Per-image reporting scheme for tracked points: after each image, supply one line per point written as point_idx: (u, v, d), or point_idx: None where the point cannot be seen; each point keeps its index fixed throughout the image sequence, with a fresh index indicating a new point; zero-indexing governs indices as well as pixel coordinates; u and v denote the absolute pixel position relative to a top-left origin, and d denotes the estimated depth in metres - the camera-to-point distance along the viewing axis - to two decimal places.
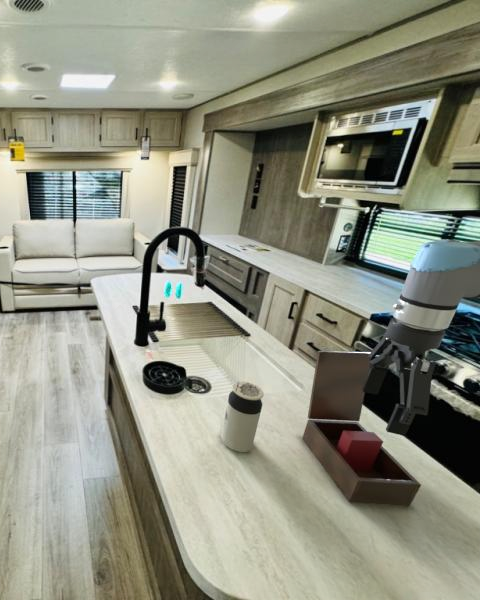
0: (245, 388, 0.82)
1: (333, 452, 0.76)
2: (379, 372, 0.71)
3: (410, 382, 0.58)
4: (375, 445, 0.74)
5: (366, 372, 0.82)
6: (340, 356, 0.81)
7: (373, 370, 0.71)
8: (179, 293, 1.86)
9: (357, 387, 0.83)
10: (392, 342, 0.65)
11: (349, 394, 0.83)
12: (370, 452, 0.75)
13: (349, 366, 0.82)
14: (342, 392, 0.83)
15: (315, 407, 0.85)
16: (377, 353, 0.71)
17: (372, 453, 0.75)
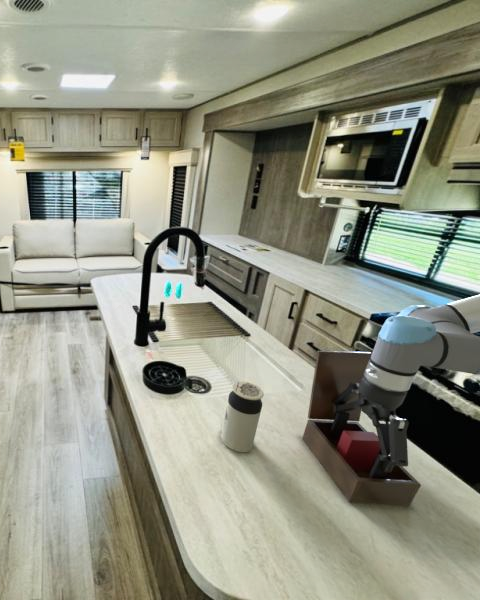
0: (245, 388, 0.82)
1: (333, 452, 0.76)
2: (344, 416, 0.81)
3: (391, 438, 0.66)
4: (375, 445, 0.74)
5: None
6: (340, 356, 0.81)
7: (340, 415, 0.81)
8: (179, 293, 1.86)
9: None
10: (360, 395, 0.75)
11: None
12: (370, 452, 0.75)
13: (349, 366, 0.82)
14: (342, 391, 0.83)
15: (315, 407, 0.85)
16: (341, 400, 0.81)
17: (372, 453, 0.75)
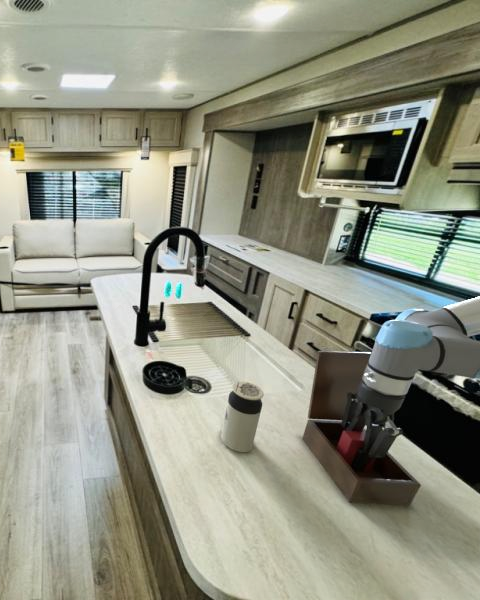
0: (245, 388, 0.82)
1: (333, 452, 0.76)
2: None
3: (378, 439, 0.70)
4: None
5: None
6: (340, 356, 0.81)
7: None
8: (179, 293, 1.86)
9: (357, 387, 0.83)
10: (359, 399, 0.75)
11: None
12: None
13: (349, 366, 0.82)
14: (342, 392, 0.83)
15: (315, 407, 0.85)
16: (349, 418, 0.79)
17: None
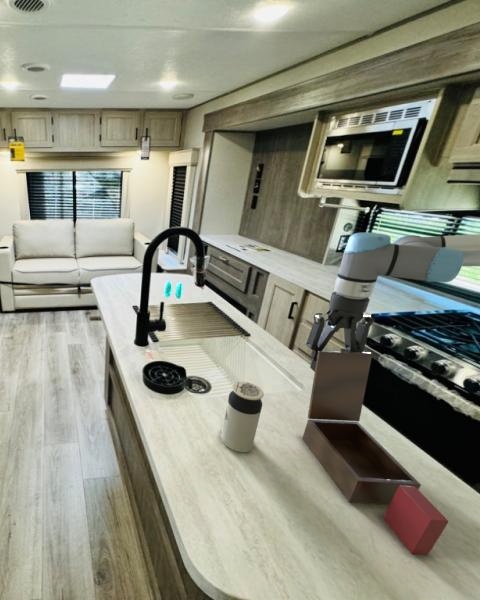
0: (245, 388, 0.82)
1: (333, 452, 0.76)
2: None
3: (364, 333, 0.82)
4: None
5: (366, 372, 0.82)
6: (340, 356, 0.81)
7: None
8: (179, 293, 1.86)
9: (357, 387, 0.83)
10: (334, 317, 0.81)
11: (349, 394, 0.83)
12: None
13: (349, 366, 0.82)
14: (342, 392, 0.83)
15: (315, 407, 0.85)
16: None
17: None
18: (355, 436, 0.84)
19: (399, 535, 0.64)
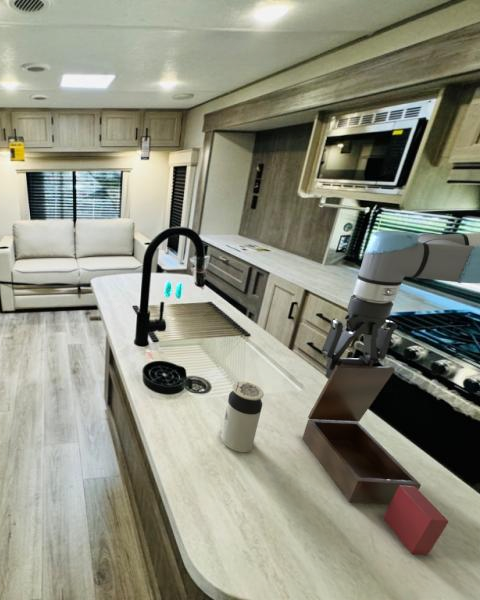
0: (245, 388, 0.82)
1: (333, 452, 0.76)
2: None
3: (386, 340, 0.75)
4: None
5: (381, 385, 0.77)
6: (358, 371, 0.75)
7: None
8: (179, 293, 1.86)
9: (367, 396, 0.79)
10: (354, 323, 0.75)
11: (356, 401, 0.81)
12: None
13: (365, 380, 0.77)
14: (350, 400, 0.80)
15: (318, 411, 0.84)
16: None
17: None
18: (355, 436, 0.84)
19: (399, 535, 0.64)
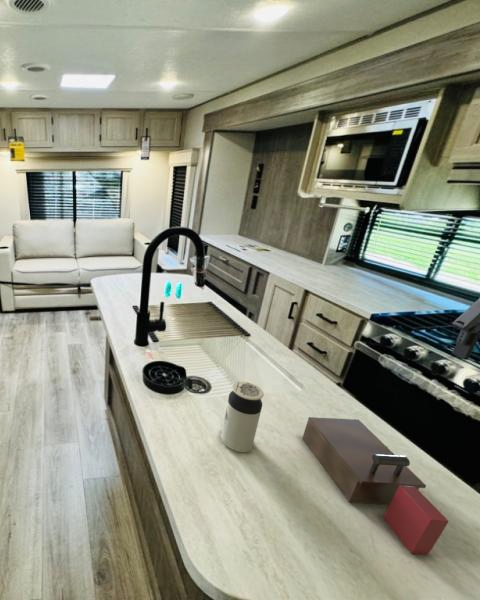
0: (245, 388, 0.82)
1: (333, 452, 0.76)
2: None
3: None
4: None
5: None
6: None
7: None
8: (179, 293, 1.86)
9: None
10: None
11: None
12: None
13: None
14: None
15: None
16: None
17: None
18: None
19: (399, 535, 0.64)
